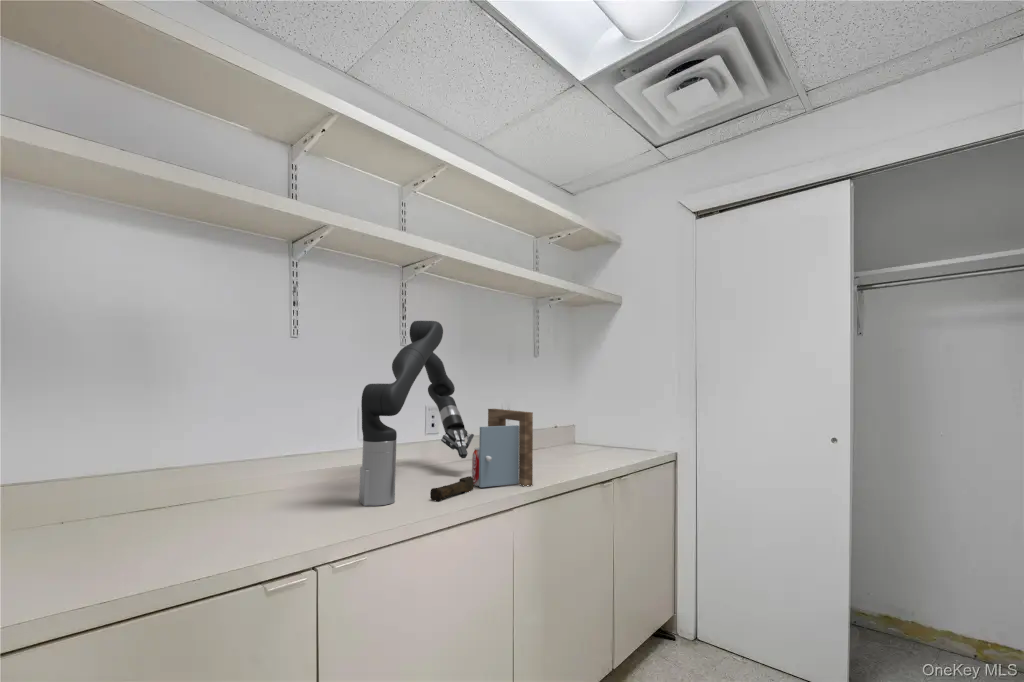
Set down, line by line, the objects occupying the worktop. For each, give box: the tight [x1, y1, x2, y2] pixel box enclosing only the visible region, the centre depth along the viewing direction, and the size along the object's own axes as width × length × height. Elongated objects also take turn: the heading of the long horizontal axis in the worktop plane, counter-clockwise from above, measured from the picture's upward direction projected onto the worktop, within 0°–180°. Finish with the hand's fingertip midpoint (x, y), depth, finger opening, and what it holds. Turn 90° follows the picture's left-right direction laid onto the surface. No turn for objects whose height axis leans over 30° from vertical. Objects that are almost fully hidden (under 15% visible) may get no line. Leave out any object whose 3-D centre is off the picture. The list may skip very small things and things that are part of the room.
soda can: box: [471, 447, 479, 487], centre depth 164 cm, size 7×7×12 cm
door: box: [478, 424, 519, 488], centre depth 162 cm, size 14×3×19 cm, turn 119°
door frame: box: [487, 408, 534, 487], centre depth 175 cm, size 3×27×24 cm, turn 29°
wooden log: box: [429, 475, 475, 502], centre depth 149 cm, size 19×4×5 cm, turn 147°
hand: (464, 456), depth 178 cm, fingers closed
